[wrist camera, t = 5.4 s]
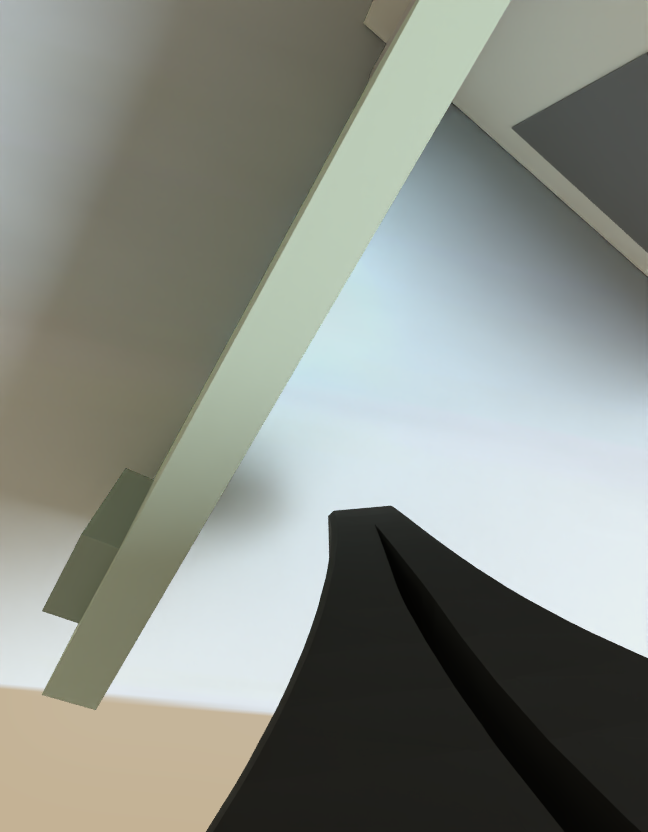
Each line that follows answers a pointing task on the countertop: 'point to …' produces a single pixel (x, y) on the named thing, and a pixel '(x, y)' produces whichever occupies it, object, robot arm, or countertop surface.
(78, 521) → the countertop surface
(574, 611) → the countertop surface
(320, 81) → the countertop surface
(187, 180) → the countertop surface
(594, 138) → the camera box
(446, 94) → the side door
